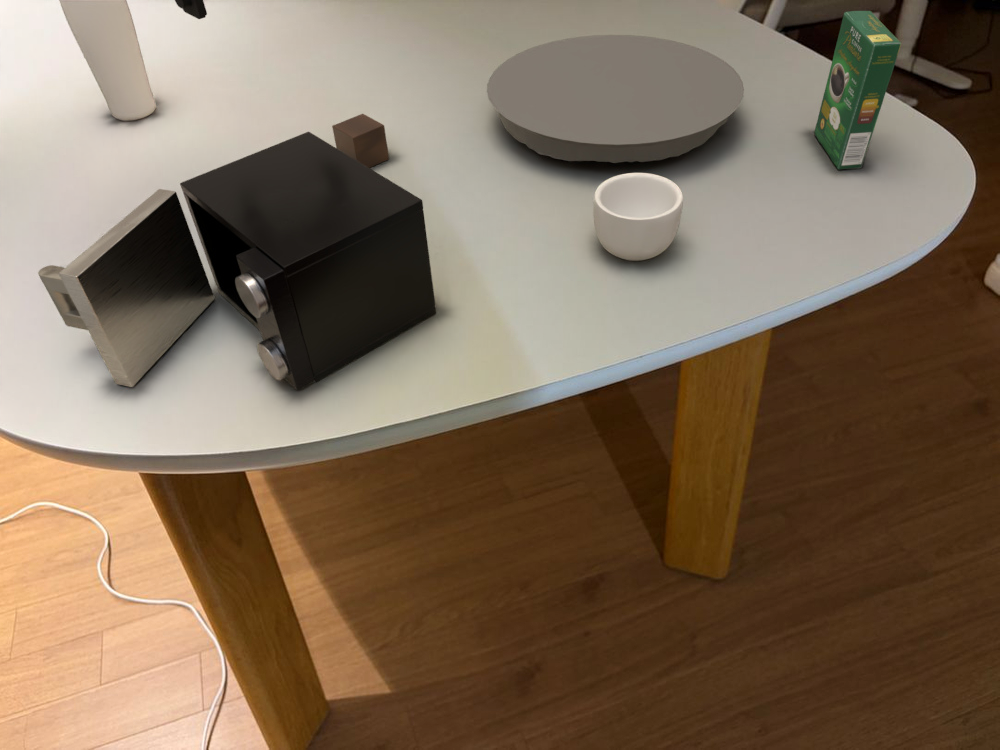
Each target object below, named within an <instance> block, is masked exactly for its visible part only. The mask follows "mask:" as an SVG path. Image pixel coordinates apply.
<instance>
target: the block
mask: <svg viewBox="0 0 1000 750" xmlns="http://www.w3.org/2000/svg"><path fill="white" fill-rule="evenodd" d="M331 128H332V134H333V138H334V143H335V148H337V149H338V150H340V151H342V152H343V153H345V154H347V155H348V156H350V157H352V158H353V159H355V160H357V161H358V162H360V163H362V164H363V165H365V166H367V167H368V168H370V169H371V168H373V167H374V166H377V165H380V164H381V163H384V162H386V161H388V160H390V155H389V148H388V142H387V136H386V128H385V125H384V124H383V123H381V122H379V121H378V120H375V119H373V118H372V117H370V116H368V115H366V114H365V113H361V114H358V115H356V116H353V117H351V118H348V119H346V120H343V121H340V122H339V123H336V124H333V125H332V126H331Z"/></svg>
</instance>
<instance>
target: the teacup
mask: <svg viewBox="0 0 1000 750" xmlns="http://www.w3.org/2000/svg"><path fill="white" fill-rule="evenodd" d="M683 197H684V196H683V193H682V189H681V188H680V187H679V186H678V185H677V183H675V182H674V181H673V180H670V179H669V178H667V177H664V176H661V175H659V174H654V173H649V172H628V173H622V174H617V175H614V176H612V177H610V178H607V179H606V180H604V181H602V182H601V183H600V184H599V185H598V186H597V188H596V189H595V192H594V195H593V199H592V200H593V201H592V204H593V205H592V210H593V213H592V214H593V226H594V231H595V234H596V237H597V239H598V241H599V243H600V244H601V246H602V247H603V249H605V250H606V251H607V252H608V253H609V254H611V255H612V256H614V257H616V258H619V259H623V260H625V261H631V262H632V261H634V262H638V261H644V260H649V259H653V258H655V257H657V256H659V255H661V254H662V253H663V252H664V251H666V250H667V249H668V248H669V247H670V246H671V244H672V243H673V241H674V239H675V237H676V235H677V232H678V229H679V226H680V222H681V219H682V218H681V216H682V212H683V207H684V206H683V205H684V198H683Z"/></svg>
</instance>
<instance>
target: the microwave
mask: <svg viewBox="0 0 1000 750" xmlns="http://www.w3.org/2000/svg"><path fill="white" fill-rule="evenodd" d="M179 185H180V189H181V191H182V193H183V197H184V199H185V202H186V205H187V207H188V210H189V214H190V216H191V219H192V222H193V225H194V227H195V230H196V233H197V236H198V239H199V242H200V244H201V247H202V249H203V252H204V255H205V258H206V261H207V263H208V266H209V269H210V272H211V275H212V277H213V280H214V283H215V286H216V287H217V291H218V294H220V295H221V297H223V298H224V299H225V300H226V301H227V302H228V303H229V304H230V305H232V306H233V307H234V308H235V309H236V310H237V311H238V312H239V313H240V314H241V315H242V316H243V317H245V318H246V319H247V320H248V321H249V322H250V323H251V324H252V325H253V326H254V327H255V328H256V329H257V330H258V331H259V332H260V335H261V337H262V341H261V342H258V343H257V345H256V349H257V353H258V356H259V358H260V360H261V362H262V364H263V366H264V367H265V369H266V370H267V372H268V373H269V374H270V375H271V376H272V377H273V378H274V379H275V380H277V381H282V380H283V379H285V380H286V381H287V382H288V383H289V385H291V386H292V387H293V388H294V389H295V390H296V391H300V390H302V389H304V388H306V387H307V386H309V385H311V384H313V383H318V382H320V381H321V380H323V379H325V378H327V377H328V376H330V375H332V374H333V373H335V372H337V371H338V370H341V369H342V368H344V367H345V366H346V367H347V366H348V365H349V364H351V363H352V362H355V361H356V360H358V359H360V358H361V357H363V356H365V355H367V354H369V353H370V352H372V351H374V350H376V349H377V348H379V347H381V346H383V345H384V344H386V343H388V342H389V341H391V340H393V339H395V338H396V337H398V336H400V335H402V334H404V333H405V332H407V331H409V330H410V329H412V328H413V327H416V326H417V325H419V324H420V323H423V322H424V321H425V320H427V319H429V318H431V317H433V316H434V315H436V314H437V309H436V308H437V307H436V301H435V299H436V298H435V293H434V291H435V290H434V285H433V276H432V268H431V260H430V253H429V245H428V243H429V242H428V236H427V228H426V220H425V212H424V202H423V199H421V198H420V197H418V196H416V195H415V194H413V193H411V192H410V191H408V190H407V189H404V188H403V187H402V186H400V185H398V184H396V183H395V182H393V181H391V180H390V179H388V178H386V177H385V176H383V175H382V174H380V173H378V172H377V171H375V170H374V169H372V168H371V167H370V168H368V167H367V166H365V165H363V164H362V163H360V162H358V161H357V160H355V159H353V158H352V157H350V156H348V155H347V154H345V153H343V152H342V151H340V150H338V149H337V148H336V146H333V145H332V144H330V143H328V142H327V141H325V140H324V139H322V138H320V137H319V136H317V135H315V134H313V133H312V132H311V131H306V132H304V133H301V134H298V135H296V136H293V137H291V138H289V139H286V140H285V141H284V140H283V141H281V142H279V143H276V144H274V145H272V146H268V147H267V148H264V149H261V150H258V151H256V152H253V153H251V154H249V155H246V156H244V157H241V158H239V159H237V160H233V161H231V162H229V163H227V164H224V165H222V166H219V167H217V168H214V169H212V170H209V171H207V172H205V173H202V174H200V175H197V176H194V177H191V178H190V179H186V180H184V181H182V182H179Z"/></svg>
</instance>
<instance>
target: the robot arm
mask: <svg viewBox="0 0 1000 750" xmlns="http://www.w3.org/2000/svg"><path fill="white" fill-rule="evenodd" d="M174 1H175V4H176V6H178V7H179V8H180V9H182V11H183V12H184V13H186V14H188V15H190V16H191V17H193V18H196V19H197V20H201V19H205V18H206V16H207V15H208V11H207V9H206V4H205V2H204V0H174Z"/></svg>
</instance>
